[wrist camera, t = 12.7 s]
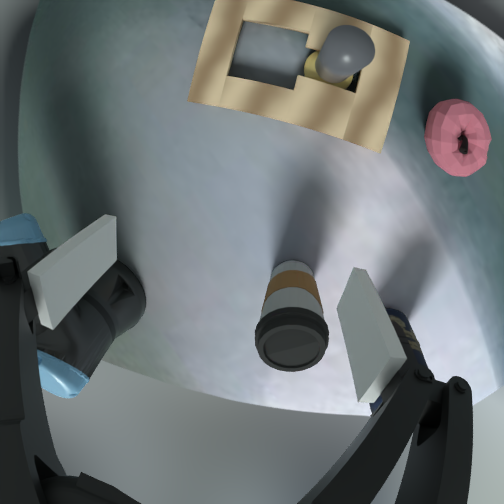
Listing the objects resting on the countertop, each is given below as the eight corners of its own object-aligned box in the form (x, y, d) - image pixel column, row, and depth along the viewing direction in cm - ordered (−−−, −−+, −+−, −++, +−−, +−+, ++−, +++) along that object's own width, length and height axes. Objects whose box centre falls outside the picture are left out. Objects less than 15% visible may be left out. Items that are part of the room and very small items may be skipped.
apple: (452, 174, 32) (491, 193, 24) (402, 156, 33) (437, 170, 24) (465, 113, 28) (507, 117, 19) (415, 90, 28) (453, 85, 19)
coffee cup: (255, 263, 42) (239, 333, 29) (309, 244, 40) (317, 310, 27) (277, 306, 45) (270, 380, 32) (327, 290, 43) (339, 363, 30)
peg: (298, 86, 31) (305, 66, 18) (310, 45, 28) (322, 5, 16) (345, 100, 31) (378, 91, 18) (356, 59, 28) (392, 31, 16)
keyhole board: (193, 102, 33) (187, 101, 31) (223, -3, 26) (218, -10, 23) (374, 151, 33) (380, 153, 31) (402, 45, 26) (409, 41, 24)
